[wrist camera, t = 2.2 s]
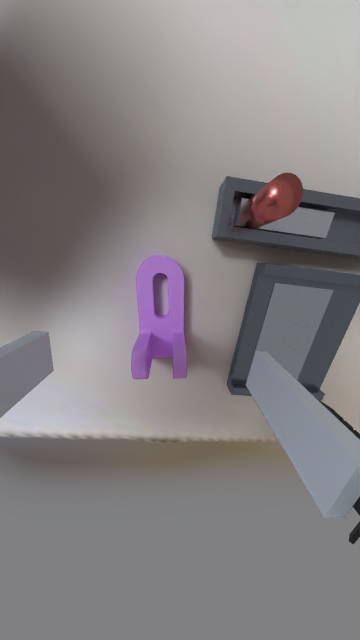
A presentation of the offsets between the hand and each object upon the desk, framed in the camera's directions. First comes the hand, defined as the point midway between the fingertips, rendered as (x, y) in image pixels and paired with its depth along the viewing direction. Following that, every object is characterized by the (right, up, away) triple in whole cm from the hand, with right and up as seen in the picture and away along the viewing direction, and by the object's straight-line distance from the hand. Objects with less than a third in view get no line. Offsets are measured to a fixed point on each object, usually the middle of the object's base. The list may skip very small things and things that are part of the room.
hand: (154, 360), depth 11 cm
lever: (+13, +13, +8) cm, 20 cm away
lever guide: (+16, +13, +9) cm, 22 cm away
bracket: (-1, +4, +11) cm, 12 cm away
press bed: (+17, 0, +13) cm, 21 cm away
